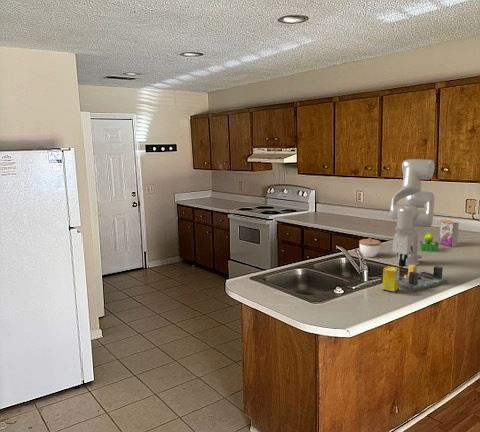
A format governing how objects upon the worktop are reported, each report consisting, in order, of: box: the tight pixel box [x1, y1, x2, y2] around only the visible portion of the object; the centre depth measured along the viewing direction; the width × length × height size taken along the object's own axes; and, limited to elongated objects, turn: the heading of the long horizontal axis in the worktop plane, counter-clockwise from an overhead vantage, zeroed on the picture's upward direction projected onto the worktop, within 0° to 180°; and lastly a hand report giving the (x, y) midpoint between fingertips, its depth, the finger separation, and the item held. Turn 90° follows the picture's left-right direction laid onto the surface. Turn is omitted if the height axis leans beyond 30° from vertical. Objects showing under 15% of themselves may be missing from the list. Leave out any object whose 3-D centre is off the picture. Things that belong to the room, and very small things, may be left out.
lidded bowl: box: [358, 237, 381, 258], centre depth 272 cm, size 13×13×11 cm
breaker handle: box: [407, 265, 418, 276], centre depth 225 cm, size 3×3×6 cm
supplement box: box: [382, 265, 400, 294], centre depth 212 cm, size 6×6×11 cm
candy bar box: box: [438, 219, 460, 248], centre depth 296 cm, size 11×5×16 cm, turn 22°
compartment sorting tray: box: [399, 265, 449, 293], centre depth 222 cm, size 26×14×8 cm, turn 119°
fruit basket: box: [418, 231, 440, 253], centre depth 284 cm, size 11×9×11 cm
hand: (402, 266), depth 229 cm, fingers closed
